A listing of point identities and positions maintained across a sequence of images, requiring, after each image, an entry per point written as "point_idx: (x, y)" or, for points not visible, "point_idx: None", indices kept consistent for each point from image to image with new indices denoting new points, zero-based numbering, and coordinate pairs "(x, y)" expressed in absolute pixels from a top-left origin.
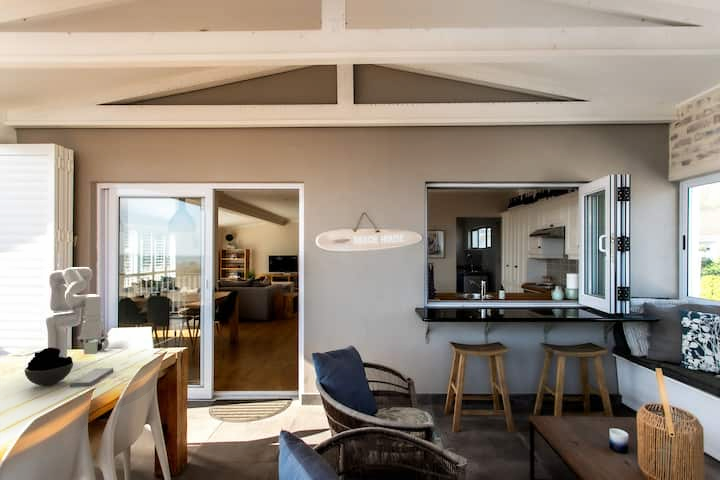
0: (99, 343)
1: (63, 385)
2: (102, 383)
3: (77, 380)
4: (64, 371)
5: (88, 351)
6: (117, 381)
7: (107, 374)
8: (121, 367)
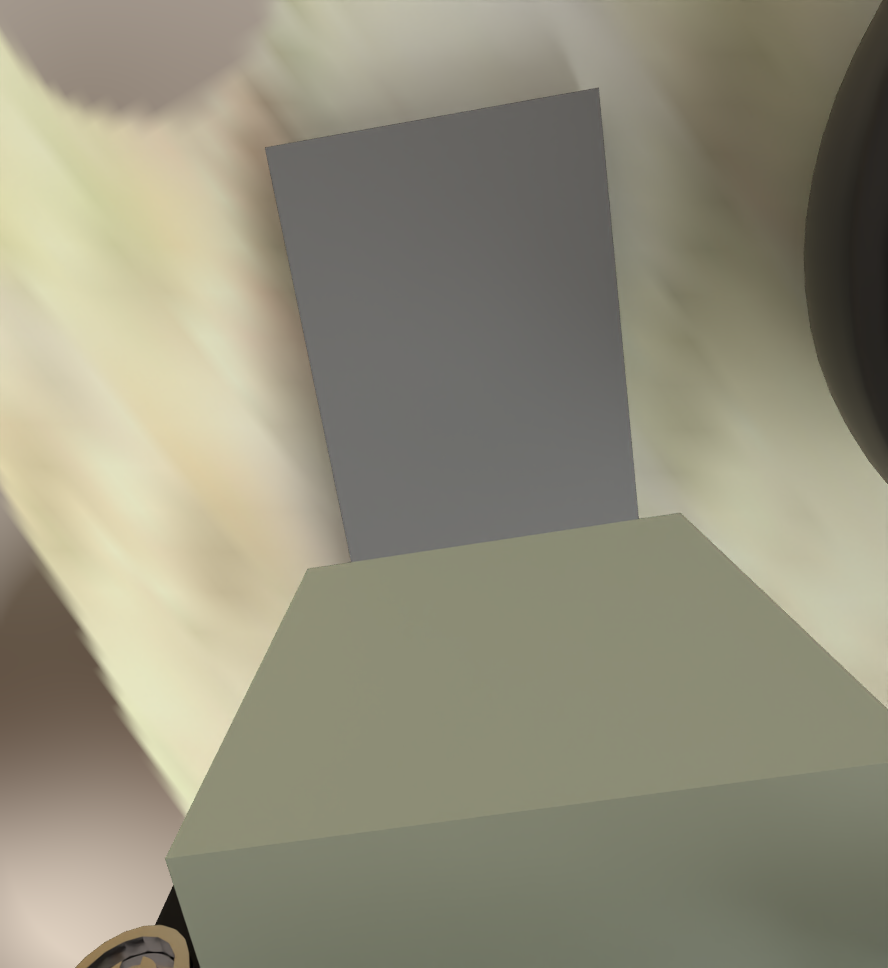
0: (159, 948)
1: (739, 187)
2: (177, 278)
3: (555, 233)
4: (834, 118)
5: (552, 568)
6: (14, 367)
7: None
8: None
